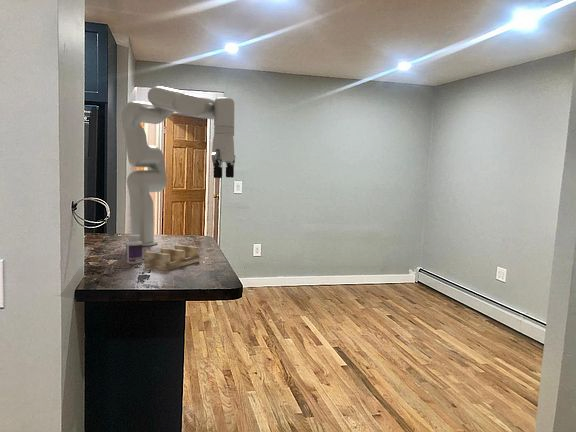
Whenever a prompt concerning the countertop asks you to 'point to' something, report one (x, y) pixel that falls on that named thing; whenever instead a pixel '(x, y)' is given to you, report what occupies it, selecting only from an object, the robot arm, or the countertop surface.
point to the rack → (172, 257)
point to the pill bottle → (133, 250)
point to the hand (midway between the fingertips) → (223, 177)
